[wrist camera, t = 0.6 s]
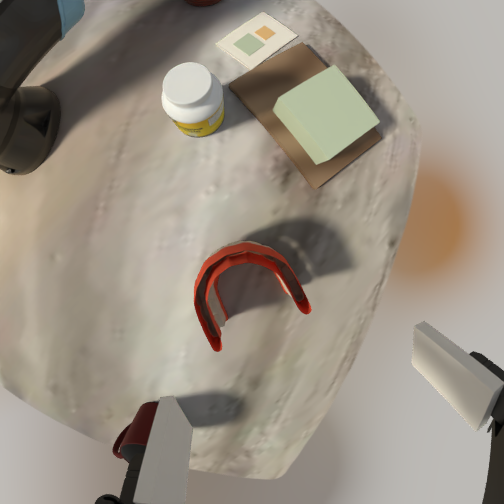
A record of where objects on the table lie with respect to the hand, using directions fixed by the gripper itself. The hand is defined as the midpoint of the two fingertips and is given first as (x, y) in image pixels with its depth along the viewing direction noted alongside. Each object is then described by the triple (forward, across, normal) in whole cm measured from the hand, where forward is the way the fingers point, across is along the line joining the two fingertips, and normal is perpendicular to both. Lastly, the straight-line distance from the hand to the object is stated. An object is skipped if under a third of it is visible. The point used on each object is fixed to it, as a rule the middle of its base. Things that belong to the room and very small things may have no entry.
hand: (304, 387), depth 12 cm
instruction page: (+25, +8, +32) cm, 41 cm away
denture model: (+25, -2, -1) cm, 25 cm away
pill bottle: (+25, -2, +21) cm, 33 cm away
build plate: (+25, +12, +19) cm, 33 cm away
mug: (+25, -26, -23) cm, 43 cm away
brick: (+24, +13, +17) cm, 32 cm away
